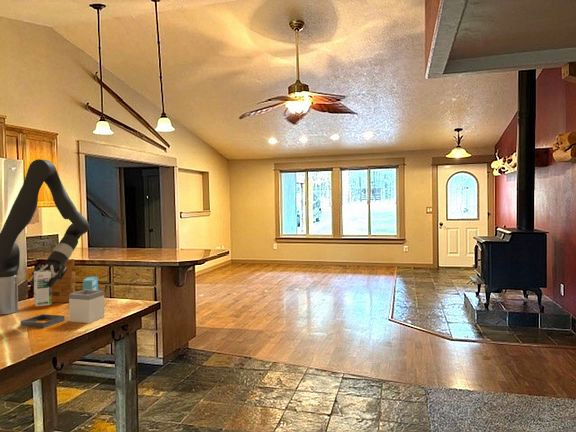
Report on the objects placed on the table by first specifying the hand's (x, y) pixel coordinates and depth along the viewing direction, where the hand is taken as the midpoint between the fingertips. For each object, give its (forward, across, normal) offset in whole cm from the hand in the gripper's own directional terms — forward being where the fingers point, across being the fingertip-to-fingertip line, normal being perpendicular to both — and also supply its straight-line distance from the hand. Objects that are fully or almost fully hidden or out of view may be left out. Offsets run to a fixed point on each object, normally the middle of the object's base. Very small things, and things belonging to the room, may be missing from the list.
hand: (40, 285), depth 181 cm
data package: (-17, -7, +41) cm, 45 cm away
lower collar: (+11, 0, +12) cm, 17 cm away
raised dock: (+4, +14, +19) cm, 24 cm away
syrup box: (+5, 0, +7) cm, 9 cm away
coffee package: (-14, -21, +38) cm, 46 cm away
